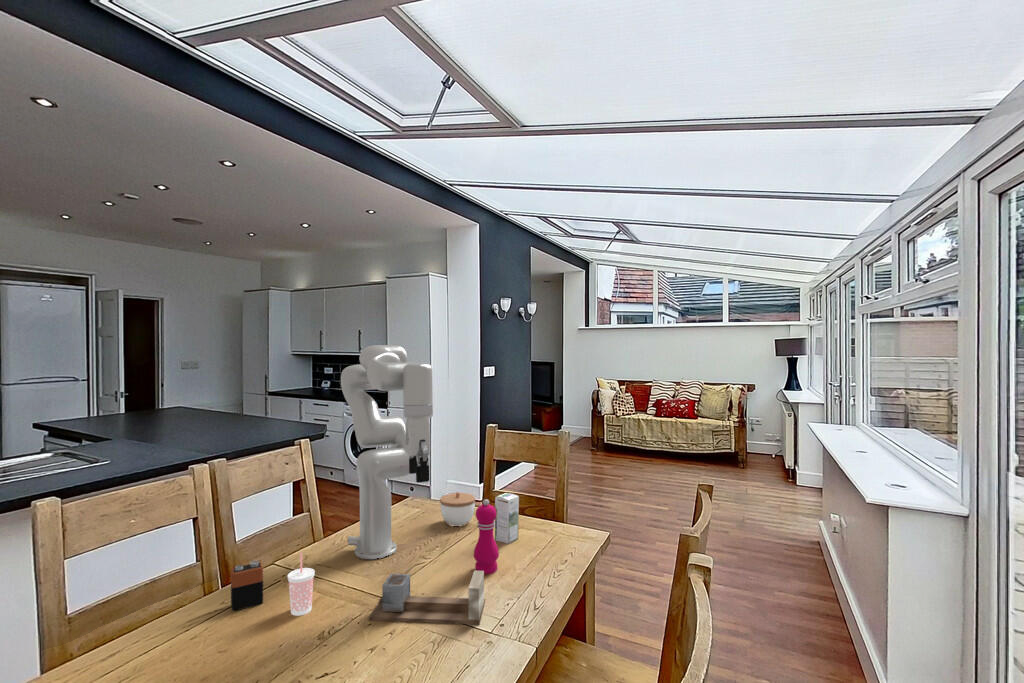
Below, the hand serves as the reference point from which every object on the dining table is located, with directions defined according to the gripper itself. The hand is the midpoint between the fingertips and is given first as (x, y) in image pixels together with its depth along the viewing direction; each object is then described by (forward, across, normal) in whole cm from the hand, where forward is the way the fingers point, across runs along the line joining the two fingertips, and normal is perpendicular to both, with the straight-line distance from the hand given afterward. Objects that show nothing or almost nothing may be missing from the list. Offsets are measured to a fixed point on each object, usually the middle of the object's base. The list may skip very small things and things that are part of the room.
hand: (418, 477), depth 129 cm
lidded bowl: (+30, -46, +23) cm, 59 cm away
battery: (+30, -12, -41) cm, 52 cm away
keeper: (+29, +5, -7) cm, 30 cm away
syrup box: (+30, -25, +34) cm, 52 cm away
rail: (+30, +9, 0) cm, 31 cm away
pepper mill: (+30, -7, +20) cm, 37 cm away
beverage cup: (+30, -3, -28) cm, 41 cm away
